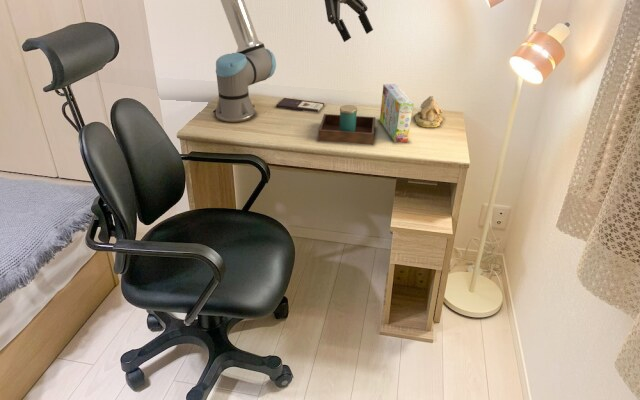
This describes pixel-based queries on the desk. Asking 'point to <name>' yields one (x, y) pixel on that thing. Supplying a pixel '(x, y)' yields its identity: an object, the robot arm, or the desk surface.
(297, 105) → the chocolate bar
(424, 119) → the ceramic model
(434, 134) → the desk surface
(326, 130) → the dark wooden tray
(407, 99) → the snack box
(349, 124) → the tin
